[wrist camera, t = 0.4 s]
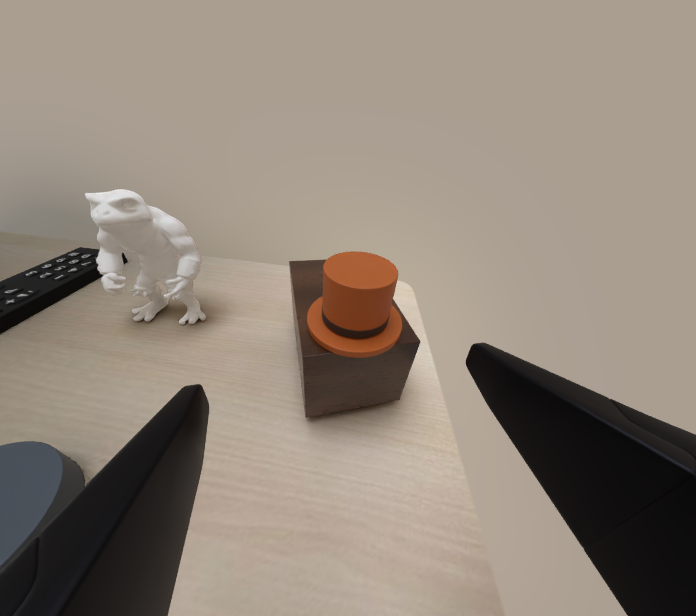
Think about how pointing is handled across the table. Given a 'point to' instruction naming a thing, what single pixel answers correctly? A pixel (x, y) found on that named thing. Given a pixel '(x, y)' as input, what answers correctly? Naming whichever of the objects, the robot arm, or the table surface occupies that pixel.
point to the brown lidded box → (340, 371)
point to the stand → (32, 492)
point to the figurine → (145, 252)
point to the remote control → (46, 285)
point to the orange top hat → (356, 306)
